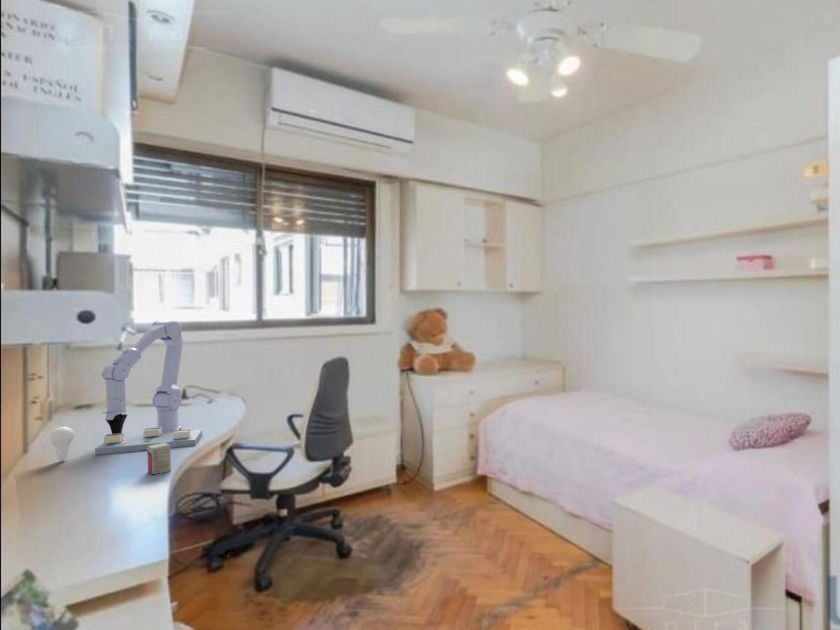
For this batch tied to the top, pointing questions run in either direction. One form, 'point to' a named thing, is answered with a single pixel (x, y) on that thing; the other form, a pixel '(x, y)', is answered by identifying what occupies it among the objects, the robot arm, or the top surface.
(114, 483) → the top surface
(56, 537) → the top surface
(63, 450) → the lightbulb
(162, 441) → the switch unit
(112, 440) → the knob
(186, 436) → the knob
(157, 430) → the knob
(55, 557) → the top surface
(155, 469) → the small box
